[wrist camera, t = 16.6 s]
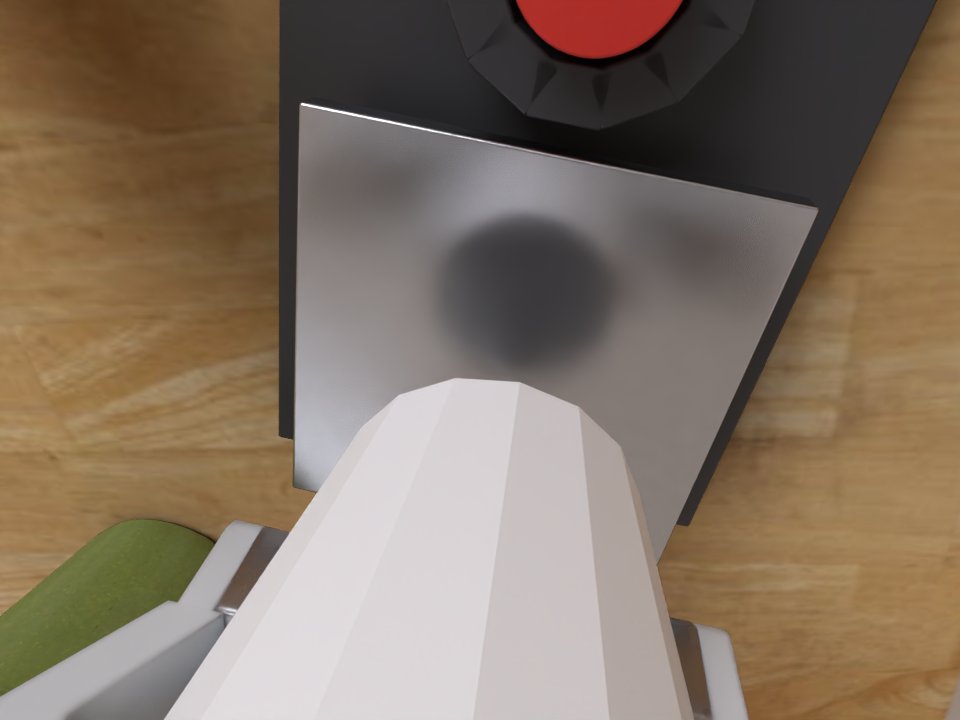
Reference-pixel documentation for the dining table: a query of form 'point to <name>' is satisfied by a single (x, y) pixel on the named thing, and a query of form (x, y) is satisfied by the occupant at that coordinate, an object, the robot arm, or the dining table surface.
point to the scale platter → (527, 286)
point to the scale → (614, 106)
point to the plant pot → (97, 594)
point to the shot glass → (457, 578)
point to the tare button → (597, 24)
